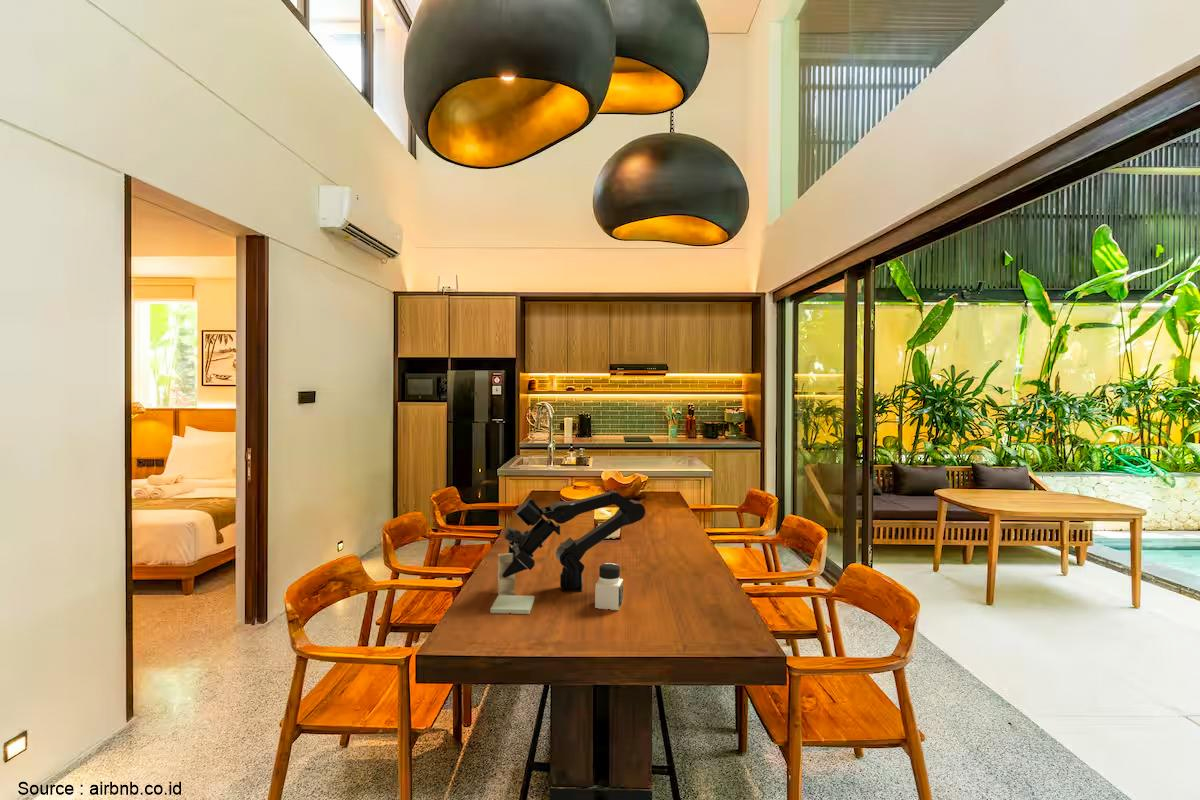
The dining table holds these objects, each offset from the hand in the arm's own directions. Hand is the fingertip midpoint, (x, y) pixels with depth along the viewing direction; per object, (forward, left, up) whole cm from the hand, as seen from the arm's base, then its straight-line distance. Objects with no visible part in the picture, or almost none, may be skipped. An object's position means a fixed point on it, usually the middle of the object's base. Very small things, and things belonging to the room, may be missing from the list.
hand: (501, 573), depth 178 cm
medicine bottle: (-33, +7, -7) cm, 35 cm away
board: (-5, +10, -7) cm, 13 cm away
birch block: (-1, 0, -7) cm, 7 cm away
